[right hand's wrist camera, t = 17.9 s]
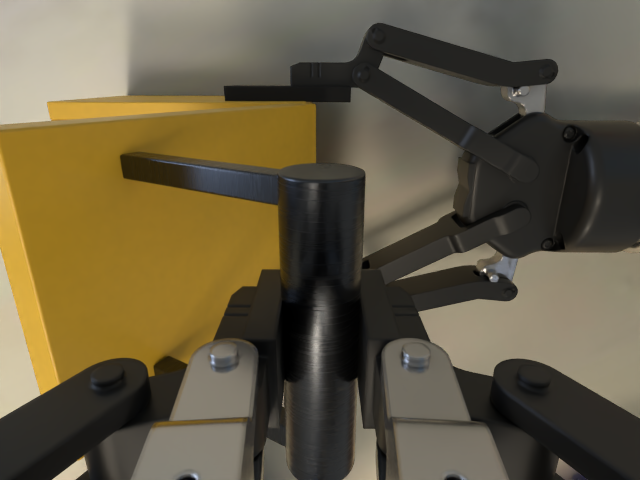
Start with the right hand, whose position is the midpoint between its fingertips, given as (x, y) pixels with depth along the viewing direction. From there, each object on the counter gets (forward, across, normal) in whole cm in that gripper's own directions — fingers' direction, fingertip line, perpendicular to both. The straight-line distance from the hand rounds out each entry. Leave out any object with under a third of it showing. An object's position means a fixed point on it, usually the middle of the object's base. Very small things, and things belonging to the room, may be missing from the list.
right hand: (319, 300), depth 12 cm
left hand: (+14, +5, 0) cm, 15 cm away
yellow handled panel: (+5, +5, 0) cm, 7 cm away
